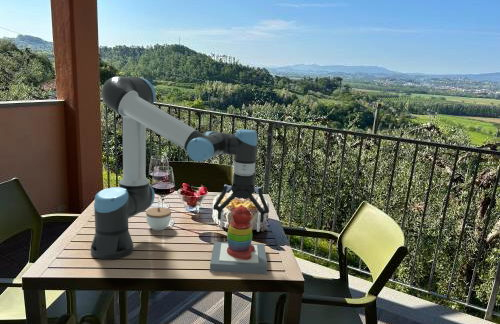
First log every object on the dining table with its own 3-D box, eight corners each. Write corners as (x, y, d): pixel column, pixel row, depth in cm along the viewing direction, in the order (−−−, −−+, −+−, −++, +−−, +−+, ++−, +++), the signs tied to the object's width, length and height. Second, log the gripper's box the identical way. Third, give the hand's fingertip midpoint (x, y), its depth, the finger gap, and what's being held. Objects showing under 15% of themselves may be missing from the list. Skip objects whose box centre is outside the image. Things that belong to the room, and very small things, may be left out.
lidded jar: (150, 222, 169) (150, 203, 167) (173, 224, 169) (173, 204, 167) (142, 231, 158) (142, 211, 156) (167, 233, 158) (167, 212, 156)
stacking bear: (250, 260, 131) (253, 213, 128) (222, 256, 133) (225, 210, 129) (255, 248, 142) (258, 204, 138) (230, 244, 144) (232, 201, 140)
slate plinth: (209, 271, 129) (210, 262, 128) (213, 248, 147) (214, 240, 146) (266, 274, 130) (267, 265, 129) (263, 251, 147) (264, 243, 147)
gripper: (207, 173, 127) (204, 230, 132) (279, 178, 128) (274, 235, 132) (209, 168, 134) (206, 222, 139) (277, 173, 135) (272, 227, 140)
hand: (239, 229), depth 136 cm, fingers open, 13 cm apart
